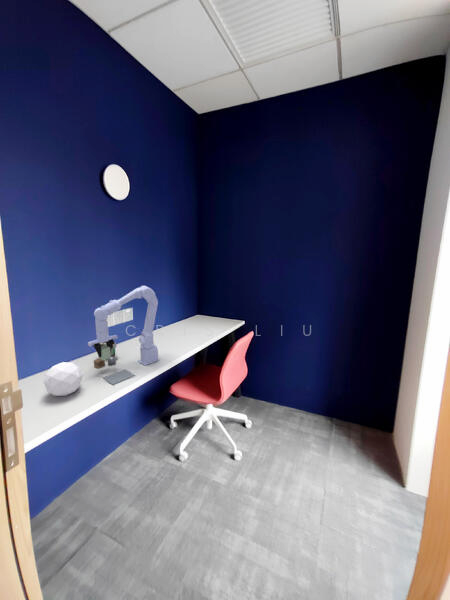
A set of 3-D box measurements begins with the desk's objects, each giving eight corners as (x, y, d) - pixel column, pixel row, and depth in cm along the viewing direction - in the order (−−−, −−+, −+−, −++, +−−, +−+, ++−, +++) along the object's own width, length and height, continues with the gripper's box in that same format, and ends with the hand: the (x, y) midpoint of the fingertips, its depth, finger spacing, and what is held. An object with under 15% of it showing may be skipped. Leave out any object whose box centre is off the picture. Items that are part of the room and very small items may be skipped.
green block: (107, 355, 139) (106, 345, 137) (110, 357, 136) (109, 347, 134) (98, 358, 135) (97, 347, 134) (102, 360, 132) (101, 349, 131)
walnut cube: (100, 364, 144) (100, 357, 143) (105, 366, 142) (104, 359, 141) (94, 367, 141) (93, 360, 140) (98, 368, 139) (98, 362, 138)
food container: (122, 357, 154) (120, 341, 151) (115, 361, 148) (113, 345, 146) (105, 354, 157) (103, 339, 155) (97, 358, 151) (96, 342, 149)
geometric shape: (56, 405, 115) (33, 380, 113) (86, 381, 126) (65, 358, 124) (61, 403, 105) (36, 376, 103) (93, 377, 115) (70, 352, 113)
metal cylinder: (114, 361, 147) (113, 355, 146) (117, 363, 145) (116, 357, 144) (107, 363, 145) (106, 357, 144) (109, 366, 142) (109, 359, 141)
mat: (125, 369, 138) (125, 369, 138) (135, 375, 131) (135, 375, 131) (102, 378, 129) (102, 377, 128) (112, 385, 122) (112, 384, 122)
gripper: (112, 326, 140) (114, 349, 143) (84, 332, 129) (87, 357, 132) (118, 328, 136) (120, 352, 139) (90, 335, 125) (93, 361, 128)
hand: (104, 355), depth 135 cm, fingers closed on green block, 4 cm apart
